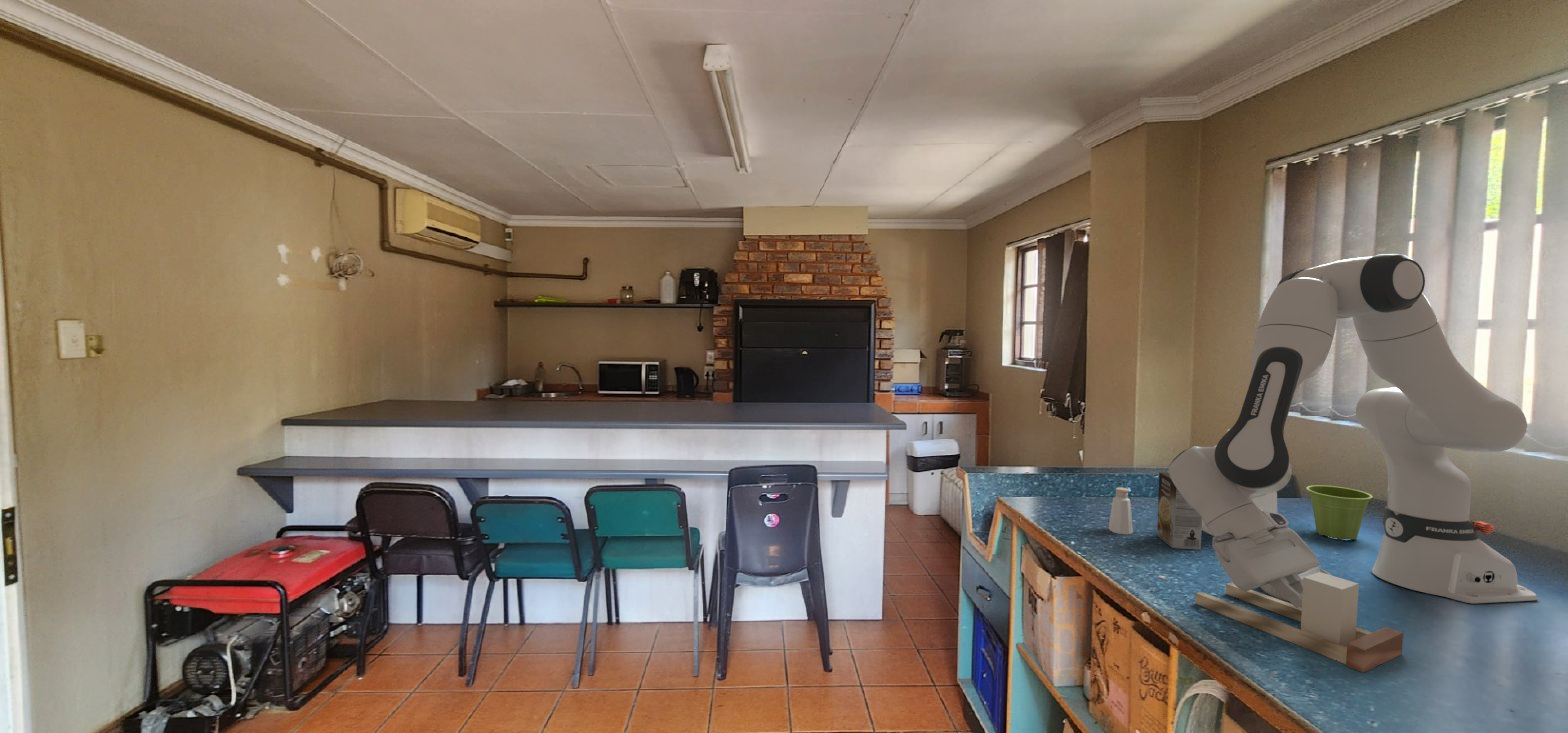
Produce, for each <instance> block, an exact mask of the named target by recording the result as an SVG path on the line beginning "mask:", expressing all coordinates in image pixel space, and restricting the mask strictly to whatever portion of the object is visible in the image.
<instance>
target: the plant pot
mask: <svg viewBox="0 0 1568 733" xmlns="http://www.w3.org/2000/svg"><path fill="white" fill-rule="evenodd" d="M1305 489H1306V491H1307V492H1308V494H1309V498H1310V500H1311V505H1312V510H1313V511H1312V512H1313V518H1314V523H1315V530H1316V533H1317V532H1318V533H1319V534H1318V533H1317V534H1318V535H1320V534H1321V535H1325V537H1327V536H1329V537H1332V538H1337V539H1356V540H1357V539H1358V535H1359V532H1360V529H1361V526H1362V522H1363V519H1364V515H1365V512H1366V508H1367V507H1368V505H1369V501H1370V500H1371V499H1373V498H1374V497H1373V495H1372V494H1371V493H1368V492H1366V491H1362V490H1358V489H1353V488H1348V487H1342V486H1335V485H1323V484H1322V485H1321V484H1320V485H1319V484H1317V485H1307V486H1306V488H1305ZM1321 535H1320V536H1321ZM1329 537H1328V538H1329ZM1332 538H1331V539H1332Z"/></svg>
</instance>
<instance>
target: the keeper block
mask: <svg viewBox="0 0 1568 733" xmlns="http://www.w3.org/2000/svg"><path fill="white" fill-rule="evenodd" d="M1359 585H1360V584H1359V583H1358V582H1354V581H1351V580H1349V579H1345V578H1341V577H1338V576H1335V575H1332V574H1331V575H1328V574H1325V573H1322V572H1318V573H1315V574H1312V575H1309V576H1306V577H1304V578H1303V597H1302V606H1301V607H1302V616H1301V622H1300V630H1302V631H1305V632H1308V633H1310V634H1313V635H1315V636H1318V637H1321V638H1323V639H1326V640H1328V641H1331V642H1334V643H1336V644H1339V645H1341V646H1344V647H1347V643H1350V642H1352V641H1354V640H1355V639H1356V627H1357V621H1358V620H1357V618H1358V606H1359V605H1358V604H1359V603H1358V602H1359Z"/></svg>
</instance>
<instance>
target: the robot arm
mask: <svg viewBox="0 0 1568 733" xmlns="http://www.w3.org/2000/svg"><path fill="white" fill-rule="evenodd" d="M1425 277H1426V276H1425V273H1424V271H1423V268H1422V267H1421V265H1420V264H1419V263H1418V262H1417V261H1415V260H1414V259H1412V258H1411V257H1409V256H1407V255H1406V254H1401V253H1381V254H1376V255H1373V256H1364V257H1363V256H1361V257H1357V258H1356V257H1354V258H1348V259H1342V260H1340V259H1339V260H1336V261H1333V262H1330V263H1326V264H1320V265H1318V266H1317V265H1316V266H1313V267H1311V268H1302V269H1298V270H1295V271H1293V272H1291V273H1288V274H1287V275H1284V276H1283V277H1282V278H1281V279H1280V281H1279V282H1278V283H1277V286H1276V287H1275V288H1274V290H1273V291H1272V293H1271V295H1270V296H1269V299H1268V300H1267V303H1266V305H1265V306H1264V309H1263V311H1262V312H1261V316H1260V319H1259V321H1258V325H1257V327H1256V330H1255V335H1254V339H1253V344H1252V350H1251V351H1252V352H1251V378H1250V382H1249V384H1248V388H1247V392H1246V394H1245V398H1244V400H1243V403H1242V407H1241V411H1240V414H1239V416H1238V418H1237V421H1235V423H1234V424H1233V426H1232V427H1231V428H1229V429H1230V430H1229V431H1228V432H1227V431H1226V432H1227V433H1226V432H1225V434H1224V435H1223V436H1221V439H1219V440H1218V443H1217V444H1216V445H1217V446H1216V445H1215V446H1216V447H1214V446H1198V445H1194V446H1191V447H1189V448H1186V449H1185V450H1182V451H1181V452H1180V453H1178V454H1177V455H1176V457H1174V458H1173V459H1172V461H1171V463H1170V464H1169V467H1168V473H1169V475H1170V478H1171V480H1172V482H1173V483H1174V485H1175V486H1176V488H1177V489H1178V491H1179V492H1180V494H1181V495H1182V496H1183V498H1184V499H1185V500H1186V502H1187V503H1188V504H1189V505H1190V506H1191V507H1192V508H1193V509H1194V510H1196V511H1197V512H1198V513H1199V514H1200V516H1201V517H1202V519H1203V521H1204V523H1205V525H1206V527H1207V528H1208V529H1209V530H1210V532H1211V533H1212V534H1213V535H1214V536H1213V535H1212V536H1213V537H1212V549H1213V550H1214V551H1215V556H1216V559H1217V560H1218V562H1219V563H1220V566H1221V567H1222V569H1223V570H1224V571H1225V573H1226V574H1227V577H1229V579H1230V580H1231V583H1234V584H1235V585H1236V586H1237V587H1238V588H1239V589H1241V590H1242V591H1248V590H1255V589H1257V588H1261V587H1260V586H1264V585H1267V584H1270V585H1271V586H1272V587H1273V588H1274V590H1276V591H1277V592H1278V593H1280V594H1281V595H1283V596H1284V597H1286V598H1287V599H1288V600H1289V601H1290V602H1289V603H1290V604H1292V605H1293V606H1294V607H1296V608H1299V607H1302V597H1303V581H1302V579H1301V578H1300V577H1299V576H1298V574H1301V573H1304V572H1307V571H1309V570H1311V569H1313V568H1315V567H1319V566H1320V562H1319V560H1318V556H1317V555H1316V554H1315V553H1314V551H1313V550H1312V549H1311V547H1309V545H1308V544H1307V543H1306V542H1305V541H1304V539H1303V538H1301V536H1300V535H1299V534H1298V533H1297V532H1296V531H1295V530H1293V529H1292V528H1291V527H1288V526H1289V525H1290V522H1289V521H1288V519H1287V518H1286V517H1285V516H1284V515H1283V514H1281V513H1278V512H1277V513H1272V512H1268V511H1265V510H1263V509H1259V508H1258V507H1257V506H1256V505H1255V504H1254V502H1253V501H1252V498H1255V497H1259V496H1262V495H1266V494H1270V493H1274V492H1277V493H1278V492H1279V491H1280V490H1282V489H1283V488H1285V487H1286V486H1287V485H1288V484H1289V482H1290V481H1291V478H1292V475H1293V474H1292V472H1293V469H1292V465H1291V464H1292V463H1291V462H1290V456H1289V451H1288V447H1287V445H1286V442H1285V438H1284V437H1285V436H1284V435H1285V434H1284V432H1285V426H1286V423H1287V420H1288V417H1289V414H1290V410H1291V407H1292V402H1293V400H1294V397H1295V393H1296V391H1297V389H1298V388H1299V387H1300V385H1301V384H1302V383H1303V382H1304V381H1306V380H1309V379H1311V378H1313V377H1315V376H1316V375H1317V374H1319V372H1320V371H1321V369H1322V367H1323V365H1324V363H1325V362H1326V360H1327V357H1328V355H1329V353H1330V349H1331V347H1332V345H1333V340H1334V337H1335V331H1336V327H1337V320H1339V319H1342V320H1343V319H1349V318H1352V320H1353V321H1352V322H1353V325H1354V328H1355V331H1356V334H1357V337H1358V339H1359V341H1360V344H1361V346H1362V349H1363V351H1364V354H1365V356H1366V358H1367V360H1368V363H1369V365H1370V367H1371V370H1372V371H1373V373H1374V374H1375V375H1376V376H1378V377H1379V378H1381V379H1382V380H1384V381H1386V382H1388V383H1389V384H1391V385H1393V386H1394V387H1391V386H1390V387H1383V388H1382V387H1381V388H1374V389H1371V390H1369V391H1367V392H1365V393H1364V394H1363V395H1362V396H1361V397H1360V398H1359V400H1358V401H1357V403H1356V406H1355V418H1356V419H1357V422H1358V423H1359V424H1360V425H1361V427H1362V428H1363V429H1365V430H1366V431H1367V432H1368V433H1369V434H1370V435H1371V436H1372V437H1373V439H1374V440H1375V441H1376V444H1377V445H1378V447H1379V449H1380V451H1381V454H1382V456H1383V458H1384V461H1385V465H1386V470H1387V502H1386V504H1387V505H1386V506H1384V509H1383V514H1382V515H1383V517H1382V518H1383V519H1382V524H1383V530H1384V532H1383V536H1382V539H1381V544H1380V548H1379V552H1378V555H1377V558H1376V561H1375V563H1374V565H1373V567H1372V569H1371V573H1372V574H1373V575H1374V576H1376V578H1377V577H1378V578H1380V579H1381V580H1383V581H1386V582H1388V583H1390V584H1393V585H1397V586H1399V587H1402V588H1406V589H1409V590H1412V591H1417V592H1422V593H1425V594H1429V595H1434V596H1440V597H1443V598H1444V597H1445V598H1447V599H1448V598H1449V599H1452V600H1455V601H1459V602H1463V603H1467V604H1488V603H1506V602H1508V603H1511V602H1525V601H1526V602H1527V601H1530V602H1531V601H1537V600H1538V598H1537V594H1536V593H1535V592H1534V591H1532V590H1531V589H1529V588H1526V587H1525V586H1522V585H1520V584H1518V574H1517V570H1516V567H1515V565H1514V564H1513V562H1512V561H1511V560H1510V559H1508V558H1507V557H1505V556H1504V555H1502V553H1499V552H1498V551H1497V550H1495V549H1493V547H1491V546H1490V545H1488V544H1487V543H1485V541H1482V540H1481V539H1480V537H1479V533H1478V532H1482V533H1483V534H1486V535H1491V534H1493V532H1495V526H1494V525H1493V524H1492V523H1489V522H1485V521H1483V520H1482V521H1481V520H1477V521H1473V520H1472V519H1470V515H1471V514H1470V513H1471V501H1472V500H1471V498H1472V482H1471V480H1470V478H1469V476H1468V475H1467V474H1466V473H1465V472H1464V471H1463V470H1461V469H1460V468H1458V467H1457V466H1456V465H1454V463H1452V462H1451V459H1450V458H1449V456H1448V455H1447V453H1446V451H1445V449H1451V450H1456V451H1457V450H1458V451H1461V452H1463V451H1464V452H1480V453H1481V452H1482V453H1487V452H1495V453H1496V452H1498V453H1499V452H1505V451H1508V450H1510V449H1512V448H1514V447H1516V445H1518V444H1519V443H1520V442H1521V441H1522V440H1523V438H1524V437H1525V436H1526V433H1527V429H1528V422H1527V419H1526V415H1525V414H1524V412H1523V411H1522V409H1521V408H1520V407H1519V406H1518V405H1517V404H1515V403H1514V402H1512V401H1509V400H1508V399H1505V398H1503V397H1501V396H1499V395H1497V394H1495V393H1494V392H1493V391H1491V390H1490V389H1488V388H1487V387H1485V386H1484V385H1483V384H1481V382H1479V381H1478V380H1477V379H1476V378H1474V376H1472V375H1471V374H1470V373H1469V371H1467V370H1466V369H1465V368H1464V367H1463V365H1462V364H1461V363H1460V362H1459V361H1458V359H1457V358H1456V356H1455V355H1454V353H1453V351H1452V349H1451V348H1450V346H1449V343H1448V341H1447V339H1446V337H1445V335H1444V332H1443V330H1442V327H1441V324H1440V323H1439V320H1438V318H1437V316H1436V314H1435V311H1434V309H1433V308H1432V305H1431V304H1430V302H1429V300H1428V298H1427V297H1426V296H1425V294H1424V293H1423V292H1424V290H1425V285H1426V278H1425Z"/></svg>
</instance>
